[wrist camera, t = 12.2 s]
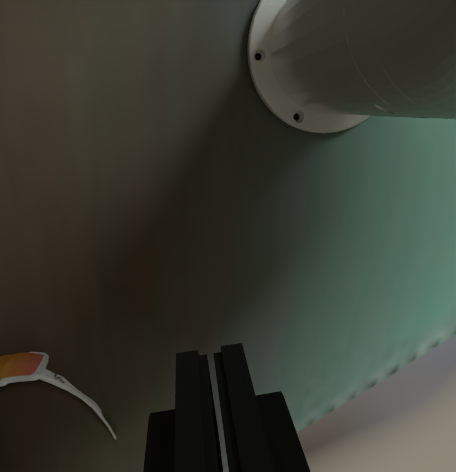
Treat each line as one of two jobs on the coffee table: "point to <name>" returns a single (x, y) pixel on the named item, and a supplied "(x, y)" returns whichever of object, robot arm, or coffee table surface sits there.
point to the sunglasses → (41, 377)
